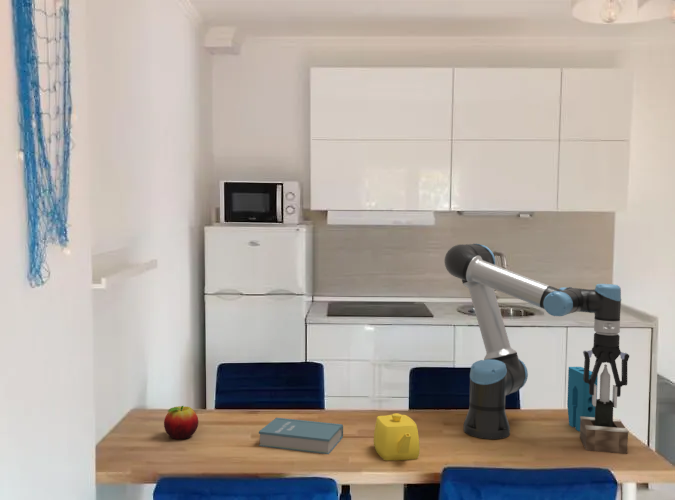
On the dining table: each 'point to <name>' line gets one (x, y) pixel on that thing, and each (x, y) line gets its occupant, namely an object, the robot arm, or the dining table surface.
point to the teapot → (396, 437)
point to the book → (301, 435)
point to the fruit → (181, 422)
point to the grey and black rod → (604, 402)
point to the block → (579, 397)
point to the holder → (603, 436)
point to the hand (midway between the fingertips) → (604, 405)
